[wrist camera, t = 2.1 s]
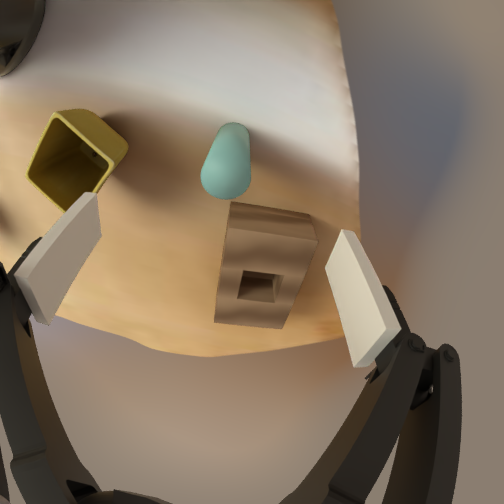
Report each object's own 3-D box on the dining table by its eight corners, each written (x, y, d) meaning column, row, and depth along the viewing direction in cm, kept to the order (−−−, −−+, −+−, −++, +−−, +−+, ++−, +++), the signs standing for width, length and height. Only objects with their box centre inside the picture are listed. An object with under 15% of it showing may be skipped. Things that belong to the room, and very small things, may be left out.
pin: (219, 120, 27) (203, 150, 18) (252, 125, 28) (255, 157, 18) (214, 150, 30) (198, 195, 20) (246, 155, 30) (246, 202, 20)
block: (230, 201, 34) (228, 227, 29) (308, 214, 35) (318, 241, 30) (216, 292, 43) (213, 322, 38) (278, 299, 44) (282, 329, 40)
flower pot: (98, 95, 24) (53, 109, 17) (147, 138, 28) (115, 164, 21) (64, 148, 28) (23, 177, 20) (109, 188, 32) (76, 224, 24)
